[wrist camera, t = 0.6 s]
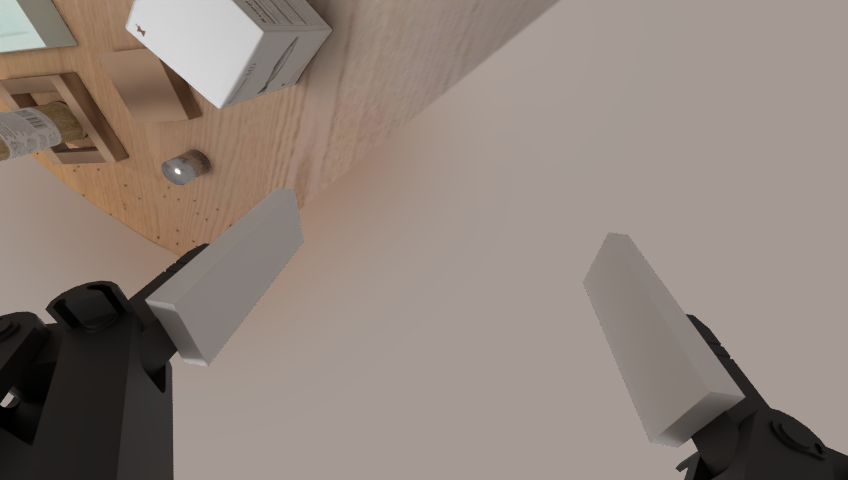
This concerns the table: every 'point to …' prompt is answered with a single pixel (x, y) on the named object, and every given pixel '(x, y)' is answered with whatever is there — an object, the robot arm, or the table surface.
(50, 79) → the socket block
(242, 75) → the supplement box
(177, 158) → the bench dog
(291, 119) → the table surface
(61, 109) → the sprinkles bottle
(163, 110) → the square wooden coaster
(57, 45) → the tray
